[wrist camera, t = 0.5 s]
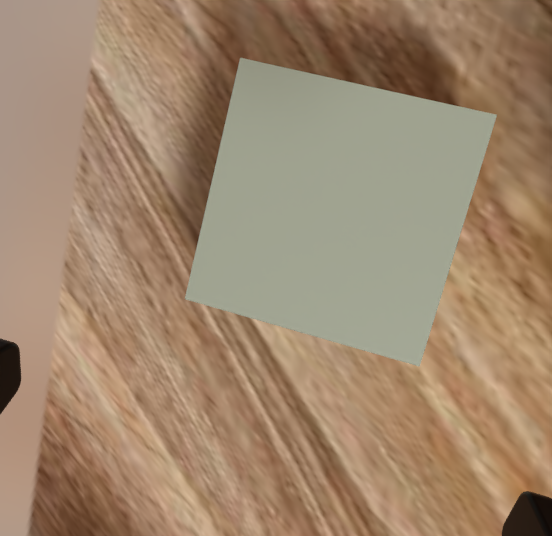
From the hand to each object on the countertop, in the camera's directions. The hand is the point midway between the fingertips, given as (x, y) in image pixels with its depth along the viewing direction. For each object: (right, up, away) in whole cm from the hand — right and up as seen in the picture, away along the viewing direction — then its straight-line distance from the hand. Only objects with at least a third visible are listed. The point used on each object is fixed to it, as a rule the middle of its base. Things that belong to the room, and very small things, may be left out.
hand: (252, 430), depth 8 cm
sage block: (+3, +5, +13) cm, 14 cm away
